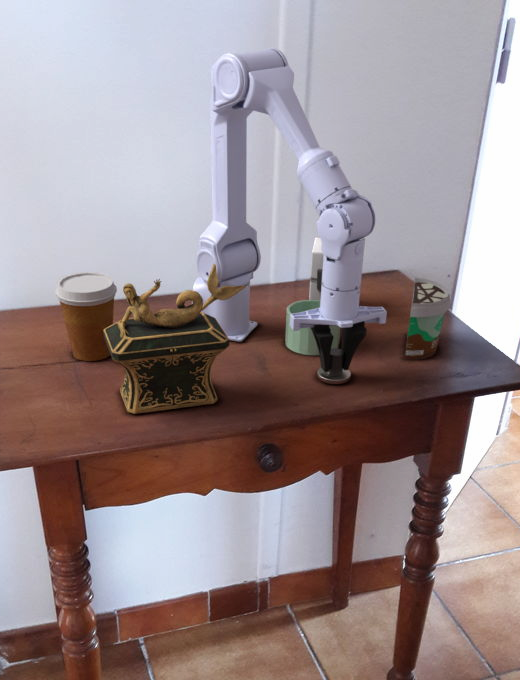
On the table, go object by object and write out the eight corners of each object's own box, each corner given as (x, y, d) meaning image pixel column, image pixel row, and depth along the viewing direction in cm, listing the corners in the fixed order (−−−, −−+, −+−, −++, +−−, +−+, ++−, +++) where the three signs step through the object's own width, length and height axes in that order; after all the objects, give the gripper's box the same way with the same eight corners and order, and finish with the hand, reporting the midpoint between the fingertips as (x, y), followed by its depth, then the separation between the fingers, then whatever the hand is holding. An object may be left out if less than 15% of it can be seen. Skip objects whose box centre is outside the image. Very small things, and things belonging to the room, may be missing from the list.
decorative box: (118, 420, 122) (107, 288, 110) (107, 389, 129) (96, 262, 118) (252, 402, 127) (255, 273, 115) (234, 373, 134) (235, 250, 123)
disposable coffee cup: (51, 353, 139) (41, 282, 132) (97, 335, 145) (90, 266, 138) (87, 371, 134) (79, 298, 127) (133, 352, 140) (128, 282, 133)
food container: (442, 367, 137) (451, 308, 131) (404, 363, 138) (411, 304, 132) (443, 335, 147) (452, 279, 141) (407, 332, 148) (415, 276, 142)
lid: (312, 380, 132) (314, 355, 130) (323, 366, 136) (324, 342, 134) (345, 386, 131) (347, 361, 128) (354, 372, 135) (356, 348, 132)
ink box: (311, 297, 160) (314, 235, 153) (337, 299, 160) (342, 236, 153) (307, 316, 153) (311, 251, 146) (334, 318, 153) (339, 253, 146)
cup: (277, 349, 141) (278, 315, 138) (295, 329, 148) (296, 296, 145) (329, 359, 139) (332, 324, 135) (345, 337, 146) (348, 304, 142)
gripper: (300, 298, 120) (296, 384, 128) (397, 291, 123) (387, 375, 131) (287, 279, 126) (284, 363, 134) (381, 273, 129) (372, 355, 136)
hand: (334, 368), depth 133 cm, fingers closed on lid, 2 cm apart
